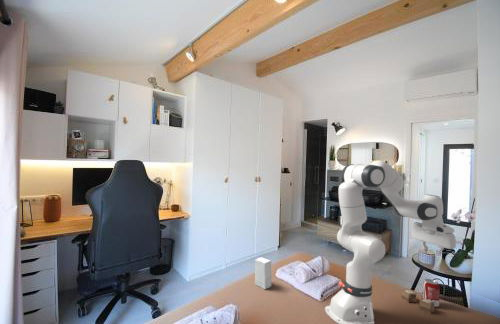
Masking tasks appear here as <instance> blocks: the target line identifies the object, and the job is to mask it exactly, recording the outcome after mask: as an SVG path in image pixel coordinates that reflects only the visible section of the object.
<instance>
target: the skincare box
mask: <svg viewBox="0 0 500 324" xmlns="http://www.w3.org/2000/svg"><path fill="white" fill-rule="evenodd" d="M254 285H255V286H258V287H259V288H261V289H264V290H266V289H268V288H271V287H272V260H270V259H267V258H264V257H262V256H260V257H257V258H256V259H254Z"/></svg>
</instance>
